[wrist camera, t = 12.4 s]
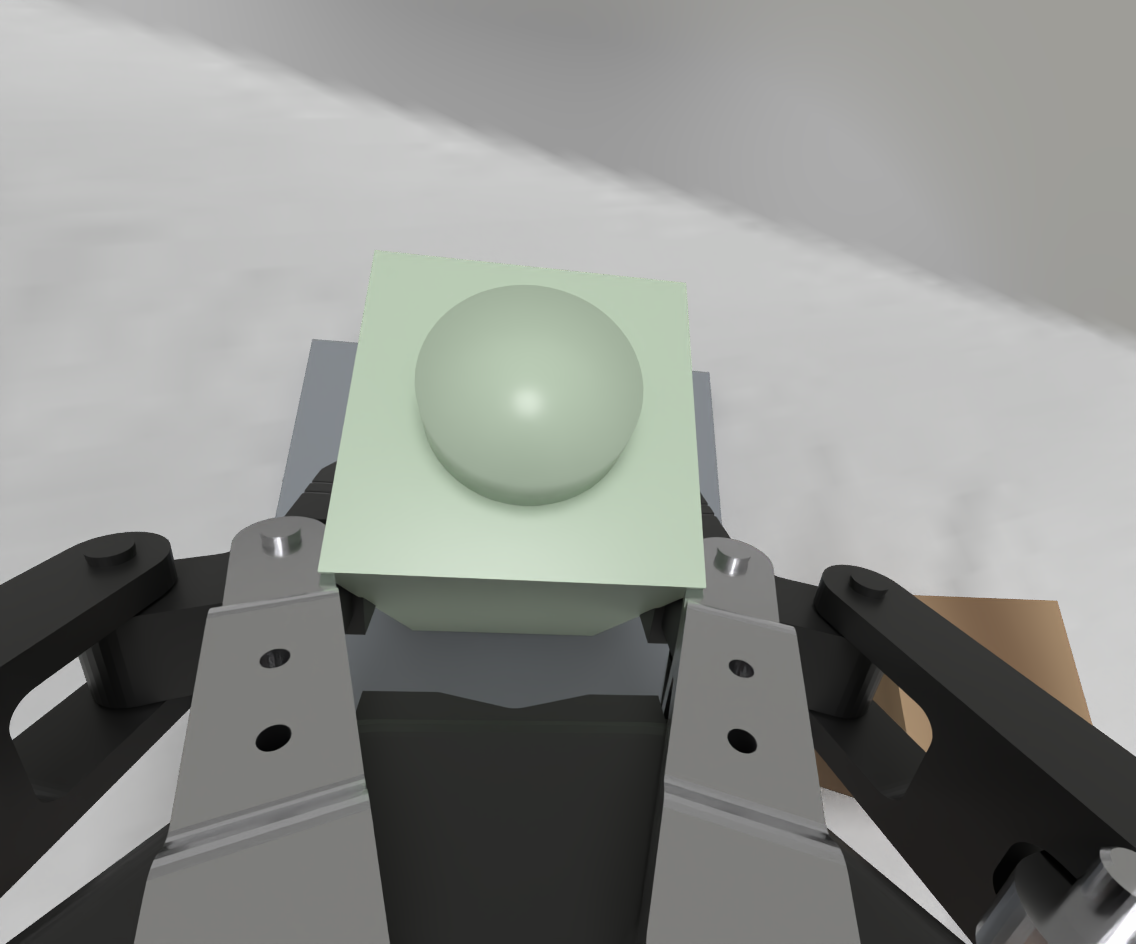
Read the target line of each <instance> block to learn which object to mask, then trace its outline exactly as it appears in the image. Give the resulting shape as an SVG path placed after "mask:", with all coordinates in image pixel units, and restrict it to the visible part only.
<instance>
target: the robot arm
mask: <svg viewBox="0 0 1136 944" xmlns="http://www.w3.org/2000/svg"><path fill="white" fill-rule="evenodd" d="M336 465H337V461H336V462H334V463H332V464H330V465H328V466H326V467H324V468H322V469H321V470H320V471H319V473H318V474H317V475H316V476H315V478H314V479H313V480H312V483H310V484H309V485H308V487H307V488H306V489H305V490H304V493H302V494H301V495H300V497H299V498H298V499H297V501H296V502H295V503H294V504H293V506H292V507H291V508H290V509H289V511H288V512H287V513H286V515H285V516H284V517H277V518H271V519H267V520H263V521H260V522H257V523H255V524H252V525H250V526H248V527H246V528H244V529H243V530H241V531H240V532H239V533H238V534H237V535H236V536H235V537H234V539H233V540H232V543H231V550H230V552H227V553H222V554H216V555H209V556H201V557H193V558H185V559H177V560H174V559H173V554H172V550H171V545H170V542H169V541H168V540H167V539H166V538H165V537H163V536H161V535H158V534H154V533H148V532H125V533H116V534H111V535H106V536H102V537H98V538H94V539H91V540H88V541H85V542H82V543H80V544H77V545H75V546H73V547H71V548H69V549H67V550H65V551H63V552H61V553H60V554H58V555H56V556H54V557H52V558H50V559H48V560H46V561H45V562H43V563H41V564H39V565H37V566H35V567H33V568H31V569H29V570H28V571H26V572H24V573H22V574H20V575H18V576H16V577H14V578H13V579H11V580H9V581H7V582H5V583H3V584H1V585H0V898H1V897H2V896H3V895H4V894H5V893H6V892H7V891H8V890H9V889H10V888H11V887H12V886H13V885H14V884H15V883H16V882H17V881H18V880H19V879H20V878H21V877H22V876H23V875H24V874H25V873H26V872H27V871H28V870H29V869H30V868H31V867H32V866H33V865H34V864H35V863H36V862H37V861H38V860H39V859H40V858H41V857H42V856H43V855H44V854H45V853H46V852H47V851H48V850H49V849H50V848H51V847H52V846H53V845H54V844H55V843H56V842H57V841H58V840H59V839H60V838H61V837H62V836H63V835H64V834H65V833H66V832H67V831H68V830H69V829H70V828H71V827H72V826H73V825H74V824H75V823H76V822H77V821H78V820H79V819H80V818H81V817H82V816H83V815H84V814H85V813H86V812H87V811H88V810H89V809H90V808H91V807H92V806H93V805H94V804H95V803H96V802H97V801H98V800H99V799H100V798H101V797H102V796H103V795H104V794H105V793H106V792H107V791H108V790H109V789H110V788H111V787H112V786H113V785H114V784H115V783H116V782H117V781H118V780H119V779H120V778H121V777H122V776H123V775H124V774H125V773H126V772H127V771H128V770H129V769H130V768H131V767H132V766H133V765H134V764H135V763H136V762H137V761H138V760H139V759H140V758H141V757H142V756H143V755H144V754H145V753H146V752H147V751H148V750H149V749H150V748H151V747H152V746H153V745H154V744H155V743H156V742H157V741H158V740H159V739H160V738H161V737H162V736H163V735H164V734H165V733H166V732H167V731H168V730H169V729H170V728H171V727H172V726H173V725H174V724H175V723H176V722H177V721H178V720H179V719H180V718H181V717H182V716H183V715H184V714H185V713H186V712H187V711H188V710H189V709H190V708H191V709H190V715H189V720H188V726H187V731H186V737H185V743H184V748H183V754H182V760H181V765H180V771H179V776H178V782H177V788H176V793H175V799H174V804H173V810H172V816H171V821H170V823H169V824H167V825H166V826H165V827H163V828H162V829H161V830H159V831H158V832H157V833H155V834H154V835H152V836H151V837H150V838H148V839H147V840H146V841H144V842H143V843H142V844H140V845H139V846H138V847H136V848H135V849H133V850H132V851H131V852H129V853H128V854H127V855H125V856H124V857H123V858H121V859H120V860H119V861H117V862H116V863H115V864H113V865H112V866H110V867H109V868H108V869H106V870H105V871H104V872H102V873H101V874H100V875H98V876H97V877H96V878H94V879H93V880H91V881H90V882H89V883H87V884H86V885H85V886H83V887H82V888H81V889H79V890H78V891H77V892H75V893H74V894H72V895H71V896H70V897H68V898H67V899H66V900H64V901H63V902H62V903H60V904H59V905H58V906H56V907H55V908H53V909H52V910H51V911H49V912H48V913H47V914H45V915H44V916H43V917H41V918H40V919H39V920H37V921H36V922H34V923H33V924H32V925H30V926H29V927H28V928H26V929H25V930H24V931H22V932H21V933H20V934H18V935H17V936H16V937H14V938H13V939H11V940H10V941H9V942H7V943H6V944H965V943H964V942H963V941H962V940H961V939H959V938H958V937H957V936H956V935H955V934H953V933H952V932H951V931H950V930H949V929H947V928H946V927H945V926H944V925H943V924H942V923H940V922H939V921H938V920H937V919H936V918H934V917H933V916H932V915H931V914H930V913H928V912H927V911H926V910H925V909H924V908H922V907H921V906H920V905H919V904H918V903H916V902H915V901H914V900H913V899H912V898H910V897H909V896H908V895H907V894H906V893H904V892H903V891H902V890H901V889H900V888H898V887H897V886H896V885H895V884H894V883H892V882H891V881H890V880H889V879H888V878H886V877H885V876H884V875H883V874H882V873H881V872H879V871H878V870H877V869H876V868H875V867H873V866H872V865H871V864H870V863H869V862H867V861H866V860H865V859H864V858H863V857H861V856H860V855H859V854H858V853H857V852H855V851H854V850H853V849H852V848H851V847H849V846H848V845H847V844H846V843H845V842H843V841H842V840H841V839H840V838H839V837H838V836H836V835H835V834H834V833H833V832H832V831H830V830H829V829H828V828H827V827H826V823H825V818H824V811H823V804H822V798H821V791H820V785H819V778H818V772H817V765H816V759H815V752H814V749H815V750H816V751H817V753H818V754H819V755H820V756H821V758H822V759H823V760H824V761H825V762H826V764H827V765H828V766H829V767H830V769H831V770H832V771H833V772H834V774H835V775H836V776H837V777H838V778H839V780H840V781H841V782H842V783H843V785H844V786H845V787H846V788H847V790H848V791H849V792H850V793H851V794H852V796H853V797H854V798H855V799H856V801H857V802H858V803H859V804H860V805H861V807H862V808H863V809H864V810H865V812H866V813H867V814H868V815H869V817H870V818H871V819H872V820H873V821H874V823H875V824H876V825H877V826H878V828H879V829H880V830H881V831H882V833H883V834H884V835H885V836H886V837H887V839H888V840H889V841H890V842H891V844H892V845H893V846H894V847H895V849H896V850H897V851H898V852H899V853H900V855H901V856H902V857H903V858H904V860H905V861H906V862H907V863H908V864H909V866H910V867H911V868H912V869H913V871H914V872H915V873H916V874H917V876H918V877H919V878H920V879H921V880H922V882H923V883H924V884H925V885H926V887H927V888H928V889H929V890H930V892H931V893H932V894H933V895H934V896H935V898H936V899H937V900H938V901H939V903H940V904H941V905H942V906H943V908H944V909H945V910H946V911H947V912H948V914H949V915H950V916H951V917H952V919H953V920H954V921H955V922H956V923H957V925H958V926H959V927H960V928H961V930H962V931H963V932H964V933H965V935H966V936H967V937H968V938H969V939H970V941H971V942H972V943H973V944H1136V757H1135V756H1134V755H1133V754H1131V753H1130V752H1129V751H1127V750H1126V749H1124V748H1123V747H1122V746H1120V745H1119V744H1118V743H1116V742H1115V741H1113V740H1112V739H1111V738H1109V737H1108V736H1107V735H1105V734H1104V733H1102V732H1101V731H1100V730H1098V729H1097V728H1095V727H1094V726H1093V725H1091V724H1090V723H1089V722H1087V721H1086V720H1084V719H1083V718H1082V717H1080V716H1079V715H1078V714H1076V713H1075V712H1073V711H1072V710H1071V709H1069V708H1068V707H1067V706H1065V705H1064V704H1062V703H1061V702H1060V701H1058V700H1057V699H1056V698H1054V697H1053V696H1051V695H1050V694H1049V693H1047V692H1046V691H1045V690H1043V689H1042V688H1040V687H1039V686H1038V685H1036V684H1035V683H1033V682H1032V681H1031V680H1029V679H1028V678H1027V677H1025V676H1024V675H1022V674H1021V673H1020V672H1018V671H1017V670H1016V669H1014V668H1013V667H1011V666H1010V665H1009V664H1007V663H1006V662H1005V661H1003V660H1002V659H1000V658H999V657H998V656H996V655H995V654H994V653H992V652H991V651H989V650H988V649H987V648H985V647H984V646H982V645H981V644H980V643H978V642H977V641H976V640H974V639H973V638H971V637H970V636H969V635H967V634H966V633H965V632H963V631H962V630H960V629H959V628H958V627H956V626H955V625H954V624H952V623H951V622H949V621H948V620H947V619H945V618H944V617H943V616H941V615H940V614H938V613H937V612H936V611H934V610H933V609H932V608H930V607H929V606H927V605H926V604H925V603H923V602H922V601H920V600H919V599H918V598H916V597H915V596H914V595H912V594H911V593H909V592H908V591H907V590H905V589H904V588H903V587H901V586H900V585H898V584H897V583H895V582H894V581H892V580H891V579H889V578H887V577H885V576H883V575H881V574H879V573H877V572H874V571H871V570H868V569H865V568H861V567H857V566H851V565H835V566H831V567H828V568H827V569H825V570H824V572H823V574H822V577H821V580H820V583H819V586H814V585H810V584H805V583H801V582H797V581H792V580H788V579H784V578H780V577H777V576H775V575H774V569H773V565H772V562H771V561H770V559H769V558H768V557H767V556H766V555H765V554H764V553H763V552H761V551H760V550H758V549H757V548H755V547H753V546H751V545H749V544H747V543H744V542H741V541H738V540H734V539H731V538H730V537H729V535H728V534H727V532H726V531H725V529H724V528H723V526H722V525H721V523H720V521H719V520H718V518H717V517H716V516H714V512H713V511H712V509H711V508H710V506H708V503H707V501H706V500H705V498H704V497H703V495H702V494H701V492H700V500H701V515H702V530H703V545H704V560H705V575H706V588H705V589H686V591H685V593H684V596H683V598H681V599H679V600H676V601H674V602H672V603H669V604H667V605H665V606H662V607H660V608H654V609H651V610H649V611H647V612H644V613H642V614H640V619H641V622H642V626H643V629H644V632H645V636H646V639H647V642H648V643H654V644H668V646H669V654H668V658H667V663H666V667H665V672H664V678H663V684H662V690H661V696H660V700H659V696H658V695H597V694H588V695H583V696H578V697H573V698H568V699H563V700H558V701H553V702H549V703H544V704H539V705H534V706H529V707H524V708H507V707H502V706H498V705H494V704H489V703H485V702H480V701H476V700H472V699H467V698H463V697H458V696H454V695H450V694H445V693H441V692H409V691H362V694H361V697H360V700H359V703H358V706H357V709H356V712H355V705H354V697H353V690H352V683H351V676H350V668H349V661H348V654H347V647H346V640H345V634H350V635H365V634H366V632H367V629H368V626H369V623H370V621H371V618H372V615H373V613H374V610H375V607H376V605H374V604H373V603H371V602H370V601H368V600H367V599H365V598H363V597H358V596H356V595H354V594H353V593H351V592H350V591H348V590H346V589H345V588H343V587H341V586H340V585H338V584H337V583H336V581H335V574H320V573H319V572H318V566H319V560H320V555H321V549H322V543H323V538H324V532H325V527H326V521H327V515H328V510H329V504H330V498H331V493H332V487H333V482H334V476H335V470H336ZM77 657H79V660H80V663H81V666H82V669H83V672H84V675H85V678H86V681H87V682H86V683H85V684H84V685H82V686H81V687H80V688H79V689H77V690H76V691H75V692H74V693H72V694H71V695H70V696H68V697H67V698H66V699H65V700H63V701H62V702H61V703H59V704H58V705H57V706H56V707H54V708H53V709H52V710H50V711H49V712H48V713H47V714H45V715H44V716H43V717H41V718H40V719H39V720H38V721H36V722H35V723H34V724H32V725H31V726H30V727H29V728H27V729H26V730H25V731H23V732H22V733H21V734H20V735H18V736H17V737H16V738H14V739H13V740H12V739H11V736H10V733H9V725H10V720H11V717H12V715H13V713H14V711H15V709H16V707H17V706H18V704H19V703H20V701H21V700H22V699H23V698H24V697H25V696H26V695H27V694H28V693H29V692H30V691H31V690H32V689H34V688H35V687H36V686H38V685H39V684H41V683H42V682H43V681H45V680H46V679H47V678H49V677H50V676H52V675H53V674H54V673H56V672H57V671H59V670H60V669H61V668H63V667H64V666H65V665H67V664H68V663H70V662H71V661H72V660H74V659H75V658H77ZM884 674H885V675H886V676H887V677H889V678H890V679H891V680H892V681H893V682H894V683H895V684H896V685H897V686H898V687H899V688H901V689H902V690H903V691H904V692H905V693H906V694H907V695H908V696H909V697H910V698H911V699H913V700H914V701H915V702H916V703H917V704H918V705H919V706H920V707H921V708H922V710H923V711H924V712H925V714H926V716H927V717H928V720H929V722H930V725H931V728H932V742H931V744H930V746H929V748H928V750H927V752H925V751H924V750H923V749H922V748H921V747H920V746H919V745H918V744H917V743H916V742H915V741H914V740H913V739H912V738H911V737H910V736H909V735H908V734H907V733H906V732H905V731H904V730H903V729H902V728H901V727H900V726H899V725H898V724H897V723H896V722H895V721H894V720H893V719H892V718H891V717H890V716H889V715H888V714H887V713H886V712H885V711H884V710H883V709H882V708H881V707H880V706H879V705H878V704H877V703H876V702H875V701H874V700H873V697H874V695H875V693H876V690H877V688H878V686H879V684H880V681H881V679H882V677H883V675H884Z"/></svg>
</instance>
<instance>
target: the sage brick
mask: <svg viewBox="0 0 1136 944" xmlns="http://www.w3.org/2000/svg"><path fill="white" fill-rule="evenodd" d="M318 572H319V573H320V574H335V581H336V583H337V584H338V585H340V586H341V587H343V588H345V589H346V590H348V591H350V592H351V593H353V594H354V595H356V596H358V597H363V598H365V599H367V600H368V601H370V602H371V603H373V604H374V605H376V608H377V609H379V610H380V611H382V612H384V613H385V614H387V615H389V616H390V617H392V618H394V619H395V620H397V621H398V622H400V623H402V624H403V625H405V626H407V627H408V628H410V629H411V630H418V631H451V632H483V633H516V634H549V635H581V636H594V635H596V634H598V633H601V632H603V631H605V630H608V629H610V628H612V627H615V626H617V625H620V624H622V623H624V622H627V621H629V620H631V619H634V618H636V617H639V616H640V614H642V613H644V612H647V611H649V610H651V609H654V608H660V607H662V606H665V605H667V604H669V603H672V602H674V601H676V600H679V599H681V598H683V596H684V593H685V591H686V589H705V588H706V575H705V560H704V545H703V530H702V515H701V500H700V485H699V470H698V455H697V440H696V425H695V410H694V395H693V380H692V365H691V349H690V334H689V319H688V304H687V289H686V283H682V282H672V281H663V280H653V279H644V278H634V277H625V276H615V275H606V274H596V273H587V272H577V271H568V270H558V269H549V268H539V267H530V266H520V265H511V264H501V263H492V262H482V261H473V260H463V259H454V258H444V257H435V256H425V255H416V254H406V253H397V252H387V251H378V250H375V251H374V257H373V262H372V268H371V273H370V279H369V285H368V290H367V296H366V302H365V307H364V313H363V318H362V324H361V330H360V335H359V341H358V347H357V352H356V358H355V363H354V369H353V375H352V380H351V386H350V392H349V397H348V403H347V408H346V414H345V420H344V425H343V431H342V437H341V442H340V448H339V453H338V459H337V465H336V470H335V476H334V482H333V487H332V493H331V498H330V504H329V510H328V515H327V521H326V527H325V532H324V538H323V543H322V549H321V555H320V560H319V566H318Z"/></svg>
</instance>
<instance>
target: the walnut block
mask: <svg viewBox="0 0 1136 944" xmlns="http://www.w3.org/2000/svg"><path fill="white" fill-rule="evenodd" d="M914 596H915V597H916V598H918V599H919V600H920V601H922V602H923V603H925V604H926V605H927V606H929V607H930V608H932V609H933V610H934V611H936V612H937V613H938V614H940V615H941V616H943V617H944V618H945V619H947V620H948V621H949V622H951V623H952V624H954V625H955V626H956V627H958V628H959V629H960V630H962V631H963V632H965V633H966V634H967V635H969V636H970V637H971V638H973V639H974V640H976V641H977V642H978V643H980V644H981V645H982V646H984V647H985V648H987V649H988V650H989V651H991V652H992V653H994V654H995V655H996V656H998V657H999V658H1000V659H1002V660H1003V661H1005V662H1006V663H1007V664H1009V665H1010V666H1011V667H1013V668H1014V669H1016V670H1017V671H1018V672H1020V673H1021V674H1022V675H1024V676H1025V677H1027V678H1028V679H1029V680H1031V681H1032V682H1033V683H1035V684H1036V685H1038V686H1039V687H1040V688H1042V689H1043V690H1045V691H1046V692H1047V693H1049V694H1050V695H1051V696H1053V697H1054V698H1056V699H1057V700H1058V701H1060V702H1061V703H1062V704H1064V705H1065V706H1067V707H1068V708H1069V709H1071V710H1072V711H1073V712H1075V713H1076V714H1078V715H1079V716H1080V717H1082V718H1083V719H1084V720H1086V721H1087V722H1089V723H1090V724H1091V725H1092V722H1091V718H1090V715H1089V711H1088V708H1087V704H1086V701H1085V697H1084V694H1083V690H1082V686H1081V683H1080V679H1079V676H1078V672H1077V669H1076V665H1075V662H1074V658H1073V655H1072V651H1071V648H1070V644H1069V641H1068V637H1067V634H1066V630H1065V627H1064V623H1063V619H1062V616H1061V612H1060V609H1059V605H1058V602H1057V601H1048V600H1023V599H997V598H971V597H946V596H920V595H914ZM873 700H874V701H875V702H876V703H877V704H878V705H879V706H880V707H881V708H882V709H883V710H884V711H885V712H886V713H887V714H888V715H889V716H890V717H891V718H892V719H893V720H894V721H895V722H896V723H897V724H898V725H899V726H900V727H901V728H902V729H903V730H904V731H905V732H906V733H907V734H908V735H909V736H910V737H911V738H912V739H913V740H914V741H915V742H916V743H917V744H918V745H919V746H920V747H921V748H922V749H923V750H924V751H925V752H927V750H928V748H929V746H930V744H931V742H932V728H931V725H930V722H929V720H928V717H927V716H926V714H925V712H924V711H923V710H922V708H921V707H920V706H919V705H918V704H917V703H916V702H915V701H914V700H913V699H911V698H910V697H909V696H908V695H907V694H906V693H905V692H904V691H903V690H902V689H901V688H899V687H898V686H897V685H896V684H895V683H894V682H893V681H892V680H891V679H890V678H889V677H887V676H886V675H885V674H884V675H883V677H882V679H881V681H880V684H879V686H878V688H877V690H876V693H875V695H874V697H873ZM814 752H815V759H816V765H817V772H818V778H819V785H820V787H823V788H826V789H829V790H832V791H835V792H838V793H841V794H844V795H847V796H850V797H853V796H852V794H851V793H850V792H849V791H848V790H847V788H846V787H845V786H844V785H843V783H842V782H841V781H840V780H839V778H838V777H837V776H836V775H835V774H834V772H833V771H832V770H831V769H830V767H829V766H828V765H827V764H826V762H825V761H824V760H823V759H822V758H821V756H820V755H819V754H818V753H817V751H816V750H815V749H814ZM853 798H854V797H853Z"/></svg>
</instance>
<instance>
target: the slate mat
mask: <svg viewBox="0 0 1136 944" xmlns="http://www.w3.org/2000/svg"><path fill="white" fill-rule="evenodd" d="M357 347H358V343H353V342H342V341H330V340H318V339H312V344H311V349H310V353H309V358H308V363H307V368H306V373H305V377H304V382H303V387H302V392H301V397H300V401H299V406H298V411H297V416H296V421H295V425H294V430H293V435H292V440H291V445H290V449H289V454H288V459H287V464H286V469H285V473H284V478H283V483H282V488H281V493H280V497H279V502H278V507H277V512H276V517H275V518H277V517H284V516H285V515H286V513H287V512H288V511H289V509H290V508H291V507H292V506H293V504H294V503H295V502H296V501H297V499H298V498H299V497H300V495H301V494H302V493H304V490H305V489H306V488H307V487H308V485H309V484H310V483H312V480H313V479H314V478H315V476H316V475H317V474H318V473H319V471H320V470H321V469H322V468H324V467H326V466H328V465H330V464H332V463H334V462H336V461H337V459H338V453H339V448H340V442H341V437H342V431H343V425H344V420H345V414H346V408H347V403H348V397H349V392H350V386H351V380H352V375H353V369H354V363H355V358H356V352H357ZM692 380H693V395H694V410H695V425H696V440H697V455H698V470H699V485H700V492H701V494H702V495H703V497H704V498H705V500H706V501H707V503H708V506H710V508H711V509H712V511H713V512H714V516H716V517H717V518H718V520H719V521H720V523H721V525H722V522H721V510H720V497H719V485H718V473H717V460H716V448H715V436H714V424H713V411H712V399H711V387H710V374H709V372H699V371H692ZM345 640H346V647H347V654H348V661H349V668H350V676H351V683H352V690H353V697H354V705H355V712H356V709H357V706H358V703H359V700H360V697H361V694H362V691H409V692H441V693H445V694H450V695H454V696H458V697H463V698H467V699H472V700H476V701H480V702H485V703H489V704H494V705H498V706H502V707H507V708H524V707H529V706H534V705H539V704H544V703H549V702H553V701H558V700H563V699H568V698H573V697H578V696H583V695H588V694H597V695H658V696H659V700H660V696H661V690H662V684H663V678H664V672H665V667H666V663H667V658H668V654H669V646H668V644H654V643H648V642H647V639H646V636H645V632H644V629H643V626H642V622H641V619H640V616H639V617H636V618H634V619H631V620H629V621H627V622H624V623H622V624H620V625H617V626H615V627H612V628H610V629H608V630H605V631H603V632H601V633H598V634H596V635H594V636H581V635H549V634H516V633H483V632H451V631H418V630H411V629H410V628H408V627H407V626H405V625H403V624H402V623H400V622H398V621H397V620H395V619H394V618H392V617H390V616H389V615H387V614H385V613H384V612H382V611H380V610H379V609H377V608H376V607H375V610H374V613H373V615H372V618H371V621H370V623H369V626H368V629H367V632H366V634H365V635H350V634H345Z"/></svg>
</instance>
